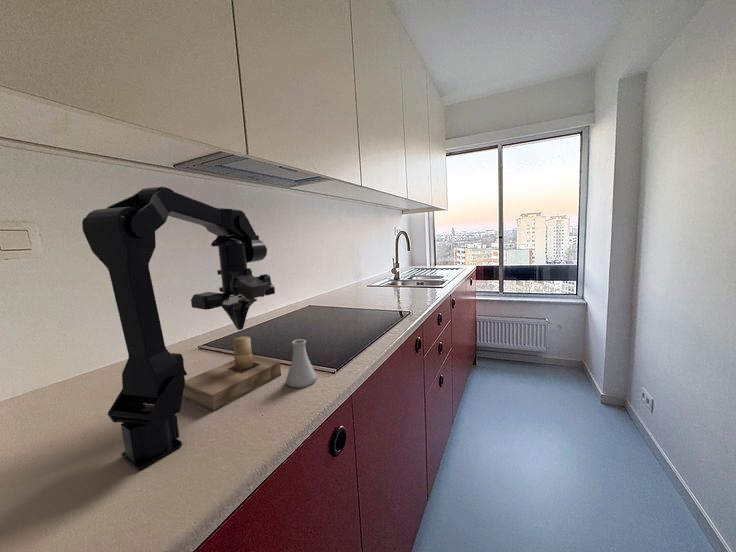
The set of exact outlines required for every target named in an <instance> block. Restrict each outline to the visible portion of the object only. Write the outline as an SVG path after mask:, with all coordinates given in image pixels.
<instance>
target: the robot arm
mask: <svg viewBox="0 0 736 552" xmlns="http://www.w3.org/2000/svg"><path fill="white" fill-rule="evenodd" d="M168 217H171V218H175V219H178V220H182V221H186V222H189V223H192V224H196V225H200V226H201V227H204V228H205V229H206V230H207V231H208V232H209V233H211V234H213V235H216V238H215V239H214V240H212V242H211V244H210V246H211V247H217V249H218V257H219V266H220V267H219V268H220V269H217V271H216V272H217V275H220V276H221V286H222V287H219V288H218V289H219V292H214V291H205V292H201V293H195V294H193V296H192V297H191V299H190V303H191V308H193V309H194V308H195V309H199V310H205V311H206V310H211V309H215V308H222V309H223V311H224V312H225V313H226V314H227V315H228V317H229V319H230V321H232V324H233V325H234V326H235V329H236V330H239V331H241V330H244V326H245V322H246V320H247V315H248V313H249V310H250V307H251V306H252V305H253V304H254V303H255V302H257V301H258V299H257V298H264V297H265V296H271V295H274V294H276V288H275V287H276V286H274V284H273V283H272V280H271V276H270V275H269V274H268V273H265V274H260V275H259V276H253V271H252V269H251V268H248V263H253V262H254V263H255V262H259V261H263V260H264V259H265V257H267V254H268V247H266V244H265V243H264V241H262V240H260V236H259V235H257V234H256V232H255V230H254V227H253V226H252V224H251V222H250V220H249V219H248V217H247V216H246V212H244V211H243V210H241V209H236V208H235V209H234V208H222V207H221V208H220V207H216V206H215V207H214V206H213V205H210V204H208V203H205V202H203V201H199V200H197V199H194V198H191V197H189V196H186V195H184V194H181V193H178V192H176V191H174V190H173V189H171V188H169V187H166V186H155V187H145V188H142V189H141V190H138V191H137V192H136V193H134V194H132V195H131V196H129V197H127V198H124V199H122V200H120V201H118V202H115V203H113V204H110V205H109V206H107V207H106V208H100V209H99V208H97V209H94V210H92V211H90V212H89V213H87V215H86V216H85V217H84V218H83V219H82V222H81V224H82V225H81V226H82V232H83V235H84V236H85V239H86V241H87V243H88V245H89V248H90V250H91V252H92V253H93V254H94V256H96V258H97V259H98V260H99V261H100V262H101V263H102V264H103V265H104V266H105V267H106V268H107V270H108V273H109V277H110V281H111V286H112V291H113V294H114V295H113V296H114V298H115V303H116V307H117V311H118V316H119V320H120V324H121V325H120V326H121V328H122V332H123V337H124V342H125V346H126V350H127V353H128V355H127V356H128V358H127V361H126V363H125V366H124V368H123V370H122V371H121V372H122V373H121V381H122V382H121V383H122V384H121V386H122V389H121V391H120V392H119V394H118V395H117V397H116V398H115V400H114V402H113V404H112V405H111V407H110V408H109V410H108V411H107V416H108V418H110V421H112V423H120V426H121V434H122V438H123V439H122V440H123V445H124V451H123V452H122V453H121V454H120V455H121V458H122V459H124V460H125V461H126V462H128V463H129V464H130V465H131V466H132V467H134V468H135V469H136V470H137V471H140V470H143V469H145V468H146V467H149V466H150V465H151V464H153V463H155V462H157V461H158V460H160V459H162V458H163V457H165V456H167V455H168V454H170V453H172V452H174V451H176V450H177V449H179V448H180V447H182V446H183V441H181V440H180V439H179V438H180V432H179V431H180V430H179V424H178V423H179V422H178V416H177V414H178V413H180V412H181V407H182V403H183V397H182V396H183V390H184V387H185V380H186V377H187V376H188V373H187V371H186V369H185V366H184V365H185V364H184V363H185V362H184V357H183V355H182V353H173V352H172V353H171V352H170V351H169V350H168V349H167V346H166V343H165V339H164V336H163V335H164V334H163V329H162V323H161V320H160V315H159V314H160V313H159V308H158V306H157V301H156V295H155V290H154V286H153V282H152V281H153V280H152V277H151V276H152V274H151V271H150V266H149V265H150V262H151V260H152V257H153V255H154V252H155V249H156V244H157V243H156V231H158V230H159V229H160V228H161V227H162V226H163V225H164V224H166V223H167V221H168Z"/></svg>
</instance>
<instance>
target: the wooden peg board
mask: <svg viewBox="0 0 736 552" xmlns="http://www.w3.org/2000/svg"><path fill="white" fill-rule="evenodd" d="M252 359H253V367H252V369H250V370H248V371H246V372H244V373H242V374H241V373H238V370H236V369H235V359H233V360H231V361H228V362H226V363H223V364H221V365H220V366H217V367H214V368H212V369H209V370H207V371H204V372H202V373H200V374H197V375H195V376H192V377H189V378H187V379H185V387H184V390H183V396H182V399H186V400H188V401H189V402H192V403H195V404H196V405H198V406H201V407H203V408H205V409H208V410H210V411H211V412H216V411H218V410H219V409H222V408H223V407H225V406H227V405H228V404H230V403H232V402H234V401H236V400H238V399H240V398H241V397H244V396H245V395H247V394H248V393H251V392H252V391H254V390H256V389H258V388H260V387H262V386H264V385H265V384H267V383H269V382H271V381H273V380H275V379H277V378H279V377H281V375H282V369H281V367H282V366H281V361H280V360H279V361H278V360H273V359H270V358H267V357H263V356H258V355H255V354H252Z"/></svg>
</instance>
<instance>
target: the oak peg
mask: <svg viewBox="0 0 736 552" xmlns="http://www.w3.org/2000/svg"><path fill="white" fill-rule="evenodd" d="M232 348H233V349H232V350H233V356H234V357H233V358H234V359H233V360H235V369H236V370H238V373H241V374H242V373H244V372H246V371H248V370H250V369H252V367H253V359H252V355H253V351H252V349H253V348H252V341H251V337H250V336H239V337H236V338H233V340H232Z"/></svg>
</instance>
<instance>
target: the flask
mask: <svg viewBox="0 0 736 552" xmlns="http://www.w3.org/2000/svg"><path fill="white" fill-rule="evenodd" d="M306 343H307V340H306V339H300V338H298V339H295V340H293V341H291V345H292V349H293V351H292V358H291V363H290V366H289V370H288V372H287V376H286V379H285V384H286V385H288V386H289V387H291V388H305V387H309V386H311V385H313V384H315V382H316V380H317V379H318V375H317V374H316V371H315V369H314V367H313V365H312V364H311V363H312V362H311V361H310V359H309V357H308V353H307V351H306V350H307V349H306Z"/></svg>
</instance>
